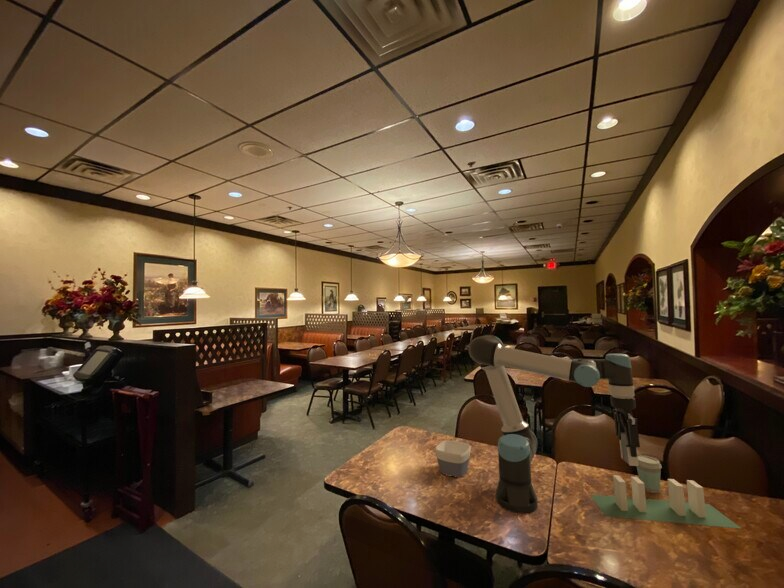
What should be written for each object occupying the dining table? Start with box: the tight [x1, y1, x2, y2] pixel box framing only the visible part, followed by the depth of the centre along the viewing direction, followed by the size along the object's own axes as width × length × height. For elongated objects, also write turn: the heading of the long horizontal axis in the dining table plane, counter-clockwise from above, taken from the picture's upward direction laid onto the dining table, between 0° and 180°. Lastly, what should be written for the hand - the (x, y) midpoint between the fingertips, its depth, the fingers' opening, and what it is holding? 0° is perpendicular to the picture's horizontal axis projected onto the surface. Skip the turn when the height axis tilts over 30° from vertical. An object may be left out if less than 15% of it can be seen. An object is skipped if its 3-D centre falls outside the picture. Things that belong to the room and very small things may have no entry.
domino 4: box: [686, 479, 706, 518], centre depth 113 cm, size 2×5×10 cm, turn 168°
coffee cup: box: [636, 455, 663, 494], centre depth 129 cm, size 8×8×12 cm
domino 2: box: [630, 476, 647, 513], centre depth 117 cm, size 2×5×10 cm, turn 168°
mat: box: [589, 494, 742, 529], centre depth 115 cm, size 40×14×1 cm, turn 78°
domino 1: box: [612, 474, 628, 511], centre depth 118 cm, size 2×5×10 cm, turn 168°
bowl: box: [434, 439, 472, 478], centre depth 149 cm, size 15×15×11 cm
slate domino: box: [620, 432, 629, 465], centre depth 116 cm, size 2×5×10 cm, turn 167°
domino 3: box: [667, 478, 686, 516], centre depth 114 cm, size 2×5×10 cm, turn 168°
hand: (629, 461), depth 116 cm, fingers closed on slate domino, 5 cm apart
